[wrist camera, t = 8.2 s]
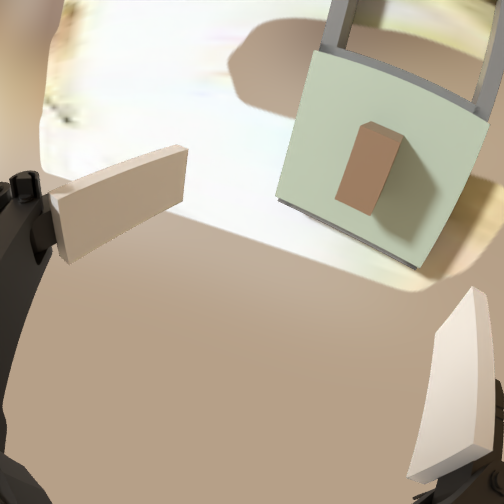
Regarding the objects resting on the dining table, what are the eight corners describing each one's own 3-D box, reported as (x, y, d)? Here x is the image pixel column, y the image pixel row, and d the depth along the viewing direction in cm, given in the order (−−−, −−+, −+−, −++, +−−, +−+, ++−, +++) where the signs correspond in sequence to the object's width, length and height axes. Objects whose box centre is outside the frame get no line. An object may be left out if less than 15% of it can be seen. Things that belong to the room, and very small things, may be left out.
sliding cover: (318, 51, 23) (291, 41, 18) (487, 123, 18) (505, 129, 13) (280, 192, 32) (249, 213, 27) (420, 262, 27) (416, 298, 22)
